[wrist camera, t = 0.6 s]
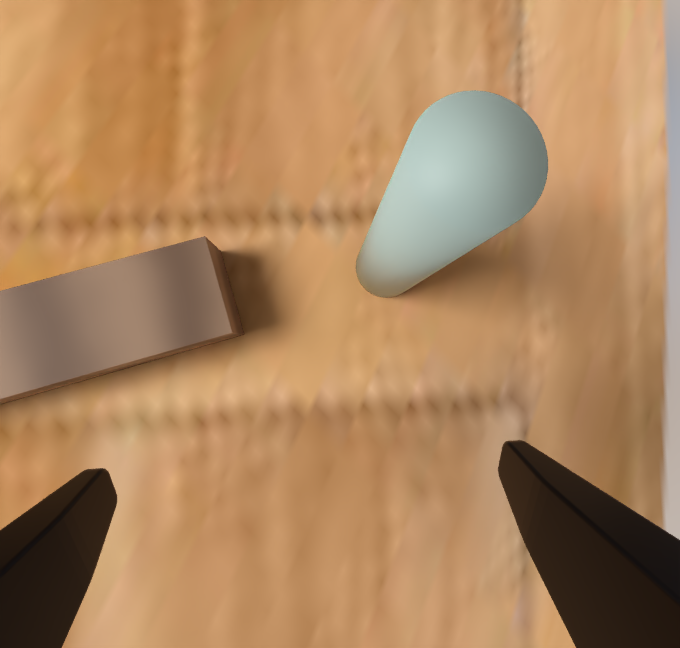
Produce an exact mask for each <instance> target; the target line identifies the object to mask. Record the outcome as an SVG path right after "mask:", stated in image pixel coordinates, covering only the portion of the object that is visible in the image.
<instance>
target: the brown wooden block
mask: <svg viewBox="0 0 680 648" xmlns="http://www.w3.org/2000/svg"><path fill="white" fill-rule="evenodd" d="M240 335H244V332H243V328H242V325H241V321H240V318H239V314H238V311H237V307H236V303H235V300H234V296H233V293H232V289H231V286H230V282H229V279H228V275H227V272H226V268H225V264H224V261H223V257H222V254H221V251H220V250H219V249H218V248H217V247H216V246H215V245H214V244H213V243H212V242H211V241H209V240H208V239H207V238H206V237H205V236H204V237H201V238H197V239H193V240H189V241H186V242H182V243H178V244H174V245H171V246H167V247H163V248H159V249H156V250H152V251H148V252H144V253H141V254H137V255H133V256H130V257H126V258H122V259H118V260H115V261H111V262H107V263H103V264H100V265H96V266H92V267H88V268H85V269H81V270H77V271H73V272H70V273H66V274H62V275H58V276H55V277H51V278H47V279H43V280H40V281H36V282H32V283H28V284H25V285H21V286H17V287H13V288H10V289H6V290H2V291H0V404H3V403H6V402H10V401H13V400H17V399H20V398H24V397H27V396H31V395H34V394H38V393H41V392H45V391H48V390H52V389H55V388H59V387H62V386H66V385H69V384H73V383H76V382H80V381H83V380H87V379H90V378H94V377H97V376H101V375H104V374H107V373H111V372H114V371H118V370H121V369H125V368H128V367H132V366H135V365H139V364H142V363H146V362H149V361H153V360H156V359H160V358H163V357H167V356H170V355H174V354H177V353H181V352H184V351H188V350H191V349H195V348H198V347H202V346H205V345H209V344H212V343H216V342H219V341H223V340H226V339H230V338H233V337H237V336H240Z"/></svg>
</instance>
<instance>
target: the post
mask: <svg viewBox="0 0 680 648" xmlns="http://www.w3.org/2000/svg"><path fill="white" fill-rule="evenodd" d="M547 173H548V157H547V150H546V146H545V142H544V140H543V137H542V135H541V133H540V131H539V129H538V127H537V125H536V124H535V123H534V121H533V120H532V118H531V117H530V116H529V115H528V114H527V113H526V112H525V111H524V110H523V109H522V108H520V107H519V106H518V105H517V104H515V103H513V102H512V101H510V100H508V99H506V98H504V97H502V96H500V95H497V94H494V93H490V92H485V91H463V92H458V93H454V94H451V95H448V96H446V97H444V98H442V99H440V100H438V101H437V102H435V103H434V104H432V105H431V106H430V107H429V108H428V109H426V110H425V111H424V113H423V114H422V115H421V116H420V117H419V119H418V120H417V122H416V123H415V125H414V127H413V129H412V131H411V133H410V136H409V138H408V140H407V143H406V145H405V147H404V150H403V152H402V154H401V157H400V159H399V161H398V164H397V166H396V168H395V171H394V173H393V175H392V178H391V180H390V182H389V185H388V187H387V189H386V192H385V194H384V196H383V199H382V201H381V203H380V206H379V208H378V210H377V212H376V215H375V217H374V219H373V222H372V224H371V226H370V229H369V231H368V233H367V236H366V238H365V240H364V243H363V245H362V247H361V250H360V252H359V254H358V257H357V260H356V273H357V277H358V279H359V281H360V283H361V285H362V286H363V287H364V288H365V289H366V290H367V291H368V292H370V293H371V294H373V295H375V296H379V297H385V298H388V297H395V296H397V295H400V294H402V293H403V292H405V291H407V290H408V289H410V288H411V287H413V286H415V285H416V284H418V283H419V282H421V281H423V280H424V279H426V278H427V277H429V276H431V275H432V274H434V273H435V272H437V271H439V270H440V269H442V268H443V267H445V266H447V265H448V264H450V263H451V262H453V261H455V260H456V259H458V258H459V257H461V256H463V255H464V254H466V253H467V252H469V251H471V250H472V249H474V248H475V247H477V246H479V245H480V244H482V243H483V242H485V241H487V240H488V239H490V238H491V237H493V236H495V235H496V234H498V233H500V232H501V231H503V230H504V229H506V228H508V227H509V226H511V225H512V224H514V223H516V222H517V221H518V220H520V219H521V218H523V217H524V216H525V215H526V214H527V213H528V212H529V211H530V210H531V209H532V208H533V207H534V205H535V204H536V203H537V201H538V199H539V198H540V196H541V194H542V191H543V189H544V186H545V183H546V179H547Z"/></svg>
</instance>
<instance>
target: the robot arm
mask: <svg viewBox="0 0 680 648" xmlns="http://www.w3.org/2000/svg"><path fill="white" fill-rule="evenodd" d="M498 472H499V477H500V480H501V483H502V485H503V488H504V491H505V493H506V496H507V499H508V501H509V504H510V507H511V509H512V512H513V514H514V517H515V520H516V522H517V525H518V528H519V530H520V533H521V535H522V538H523V540H524V543H525V545H526V547H527V549H528V551H529V553H530V555H531V557H532V559H533V562H534V564H535V566H536V568H537V570H538V572H539V574H540V576H541V578H542V580H543V582H544V584H545V586H546V588H547V590H548V592H549V594H550V596H551V598H552V600H553V602H554V604H555V606H556V608H557V610H558V612H559V614H560V616H561V618H562V620H563V622H564V624H565V626H566V628H567V630H568V632H569V634H570V636H571V638H572V640H573V642H574V644H575V646H576V648H680V540H679V539H677V538H676V537H674V536H673V535H671V534H669V533H668V532H666V531H665V530H663V529H662V528H660V527H658V526H657V525H655V524H654V523H652V522H651V521H649V520H647V519H646V518H644V517H643V516H641V515H640V514H638V513H636V512H635V511H633V510H632V509H630V508H629V507H627V506H625V505H624V504H622V503H621V502H619V501H618V500H616V499H614V498H613V497H611V496H610V495H608V494H607V493H605V492H603V491H602V490H600V489H599V488H597V487H596V486H594V485H592V484H591V483H589V482H588V481H586V480H585V479H583V478H581V477H580V476H578V475H577V474H575V473H574V472H572V471H570V470H569V469H567V468H566V467H564V466H563V465H561V464H559V463H558V462H556V461H555V460H553V459H552V458H550V457H548V456H547V455H545V454H544V453H542V452H541V451H539V450H537V449H536V448H534V447H533V446H531V445H530V444H528V443H526V442H525V441H522V440H516V441H506V442H505V443H504V444H503V447H502V452H501V457H500V461H499V467H498ZM116 504H117V494H116V491H115V488H114V485H113V483H112V480H111V477H110V474H109V472H108V471H107V470H106V469H103V468H99V469H88V470H84V471H83V472H81V473H80V474H78V475H77V476H75V477H74V478H73V479H71V480H70V481H68V482H67V483H66V484H64V485H63V486H61V487H60V488H59V489H57V490H56V491H54V492H53V493H52V494H50V495H49V496H47V497H46V498H45V499H43V500H42V501H40V502H39V503H38V504H36V505H35V506H34V507H32V508H31V509H29V510H28V511H27V512H25V513H24V514H22V515H21V516H20V517H18V518H17V519H15V520H14V521H13V522H11V523H10V524H8V525H7V526H6V527H4V528H3V529H1V530H0V648H62V646H63V644H64V641H65V639H66V637H67V634H68V632H69V630H70V628H71V625H72V623H73V621H74V619H75V616H76V614H77V612H78V609H79V607H80V605H81V603H82V600H83V598H84V596H85V594H86V591H87V589H88V586H89V584H90V582H91V579H92V577H93V574H94V571H95V568H96V565H97V562H98V559H99V556H100V553H101V550H102V547H103V544H104V541H105V538H106V535H107V532H108V529H109V526H110V523H111V520H112V517H113V514H114V511H115V508H116Z"/></svg>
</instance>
